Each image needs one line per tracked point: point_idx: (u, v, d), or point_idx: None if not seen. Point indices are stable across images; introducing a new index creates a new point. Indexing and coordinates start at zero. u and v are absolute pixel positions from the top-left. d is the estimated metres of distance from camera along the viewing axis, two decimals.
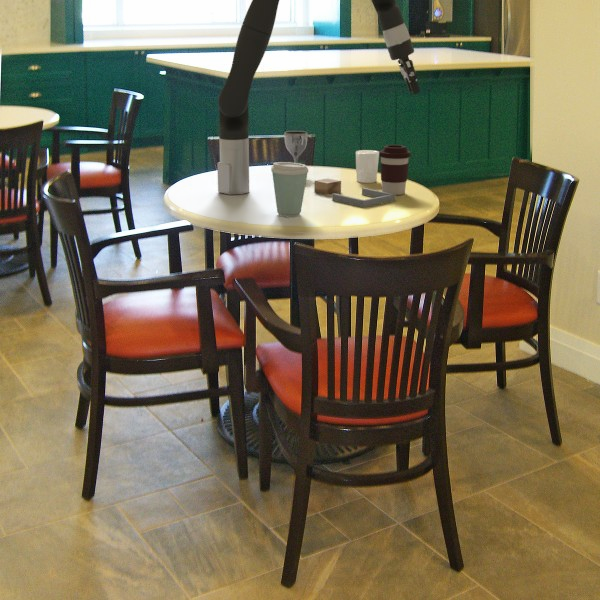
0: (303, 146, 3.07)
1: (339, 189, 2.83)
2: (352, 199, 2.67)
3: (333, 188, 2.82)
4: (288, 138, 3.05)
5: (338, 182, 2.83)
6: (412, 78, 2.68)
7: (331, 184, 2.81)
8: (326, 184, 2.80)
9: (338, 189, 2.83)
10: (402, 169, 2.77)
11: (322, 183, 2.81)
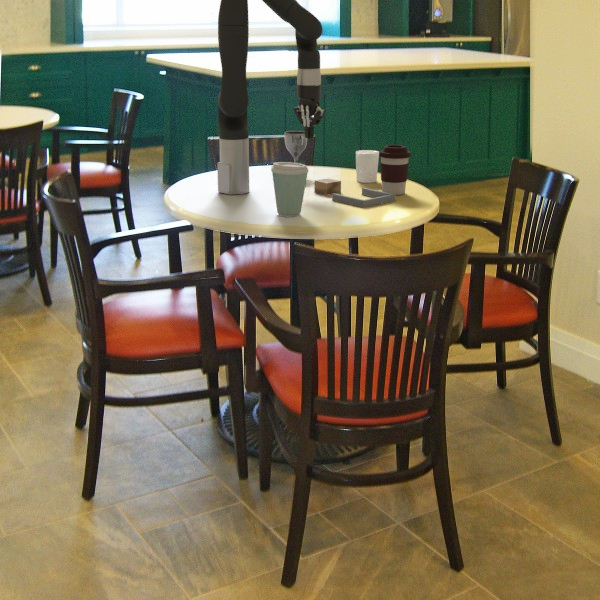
0: (303, 146, 3.07)
1: (339, 189, 2.83)
2: (352, 199, 2.67)
3: (332, 188, 2.81)
4: (288, 138, 3.05)
5: (338, 182, 2.82)
6: (315, 124, 2.82)
7: (331, 184, 2.81)
8: (325, 184, 2.80)
9: (338, 189, 2.83)
10: (402, 169, 2.77)
11: (322, 183, 2.81)
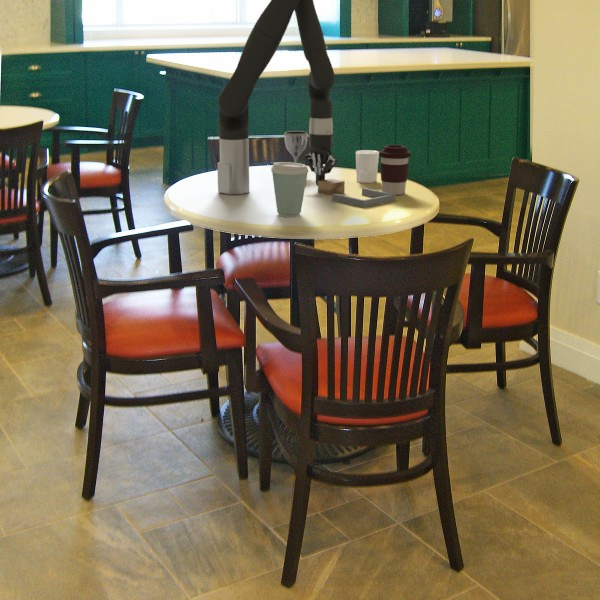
0: (303, 146, 3.07)
1: (343, 189, 2.83)
2: (352, 199, 2.67)
3: (336, 189, 2.81)
4: (288, 138, 3.05)
5: (342, 182, 2.82)
6: (326, 172, 2.83)
7: (334, 184, 2.80)
8: (329, 184, 2.79)
9: (342, 189, 2.82)
10: (402, 169, 2.77)
11: (325, 183, 2.80)
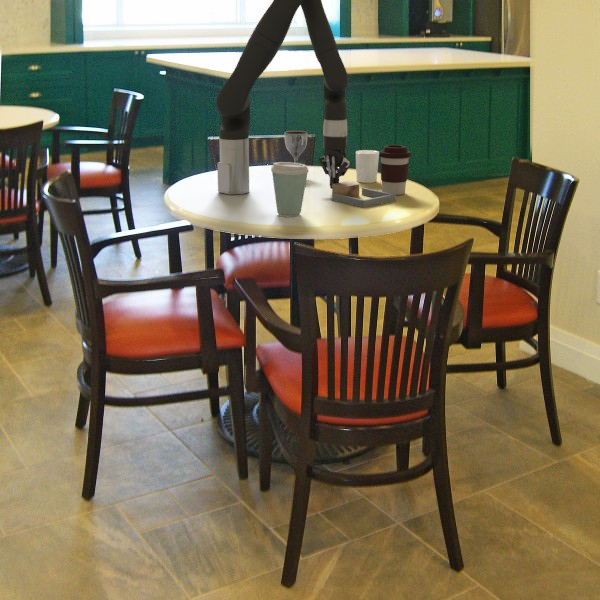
0: (303, 146, 3.07)
1: (357, 192, 2.78)
2: (352, 199, 2.67)
3: (351, 192, 2.76)
4: (288, 138, 3.05)
5: (356, 185, 2.77)
6: (340, 175, 2.78)
7: (349, 187, 2.75)
8: (344, 187, 2.75)
9: (356, 192, 2.78)
10: (402, 169, 2.77)
11: (340, 186, 2.76)
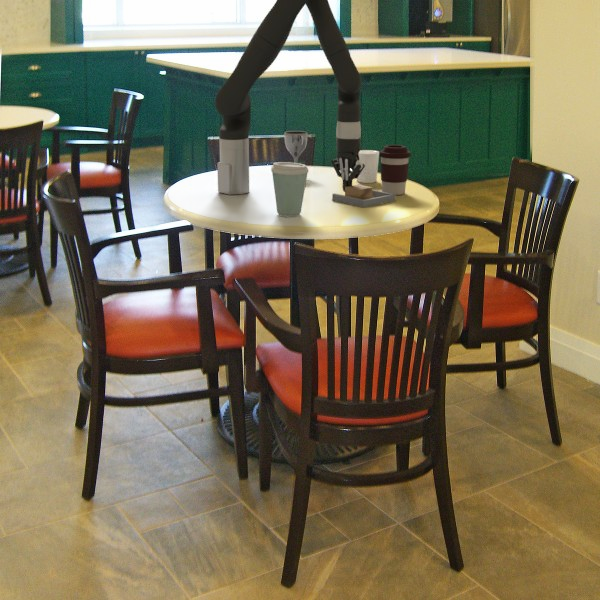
0: (303, 146, 3.07)
1: (370, 196, 2.74)
2: (352, 199, 2.67)
3: (364, 195, 2.72)
4: (288, 137, 3.05)
5: (370, 188, 2.73)
6: (353, 178, 2.74)
7: (363, 191, 2.71)
8: (358, 191, 2.70)
9: (370, 196, 2.74)
10: (402, 169, 2.77)
11: (353, 190, 2.71)
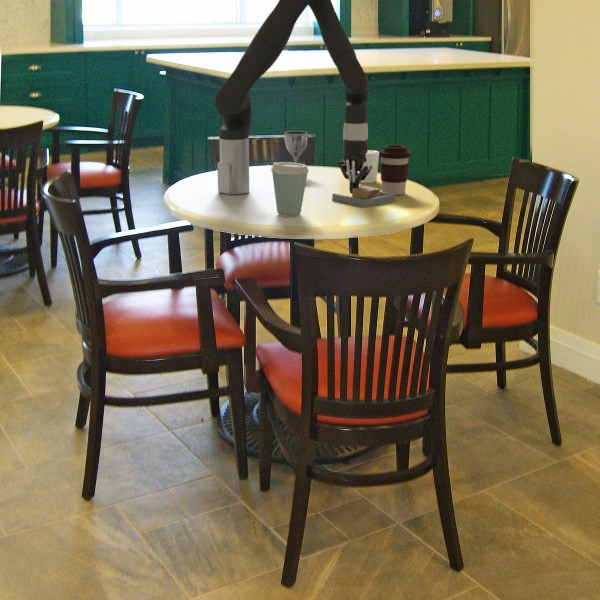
0: (303, 146, 3.07)
1: None
2: (352, 199, 2.67)
3: (371, 197, 2.70)
4: (288, 137, 3.05)
5: (377, 190, 2.71)
6: (360, 180, 2.72)
7: (370, 192, 2.69)
8: (365, 192, 2.68)
9: None
10: (402, 169, 2.77)
11: (361, 191, 2.69)
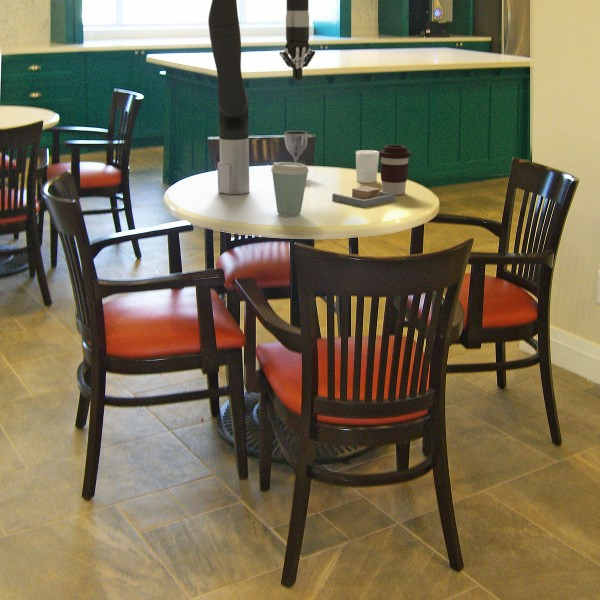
0: (303, 146, 3.07)
1: None
2: (352, 199, 2.67)
3: (372, 197, 2.70)
4: (288, 137, 3.05)
5: (377, 190, 2.71)
6: None
7: (371, 192, 2.69)
8: (366, 192, 2.68)
9: None
10: (402, 169, 2.77)
11: (361, 191, 2.69)
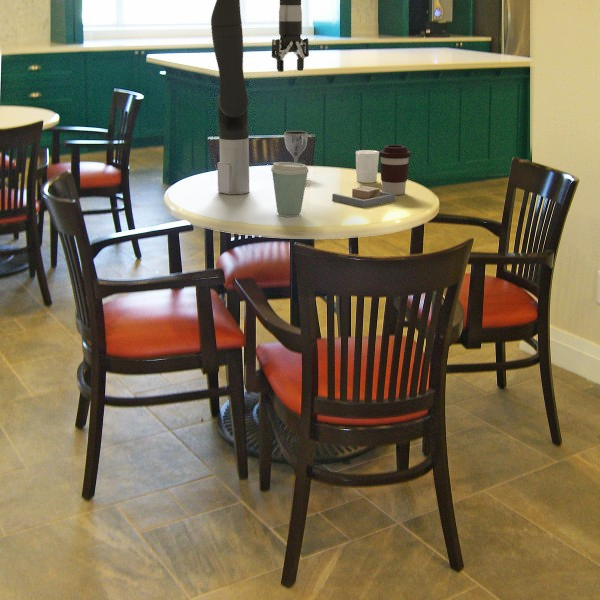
0: (303, 146, 3.07)
1: None
2: (352, 199, 2.67)
3: (372, 196, 2.70)
4: (288, 138, 3.05)
5: (377, 190, 2.71)
6: None
7: (371, 192, 2.69)
8: (366, 192, 2.68)
9: None
10: (402, 169, 2.77)
11: (362, 191, 2.69)
